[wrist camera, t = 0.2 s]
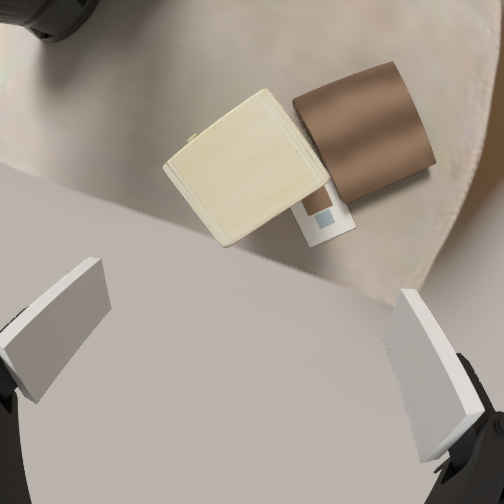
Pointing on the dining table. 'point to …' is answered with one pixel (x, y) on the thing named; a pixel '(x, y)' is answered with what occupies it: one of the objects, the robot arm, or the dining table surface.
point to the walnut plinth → (366, 130)
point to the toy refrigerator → (246, 169)
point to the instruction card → (322, 215)
